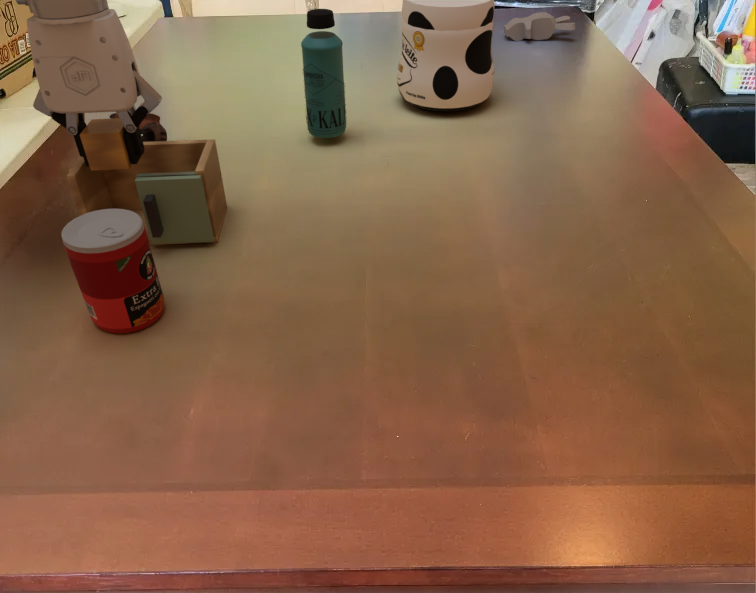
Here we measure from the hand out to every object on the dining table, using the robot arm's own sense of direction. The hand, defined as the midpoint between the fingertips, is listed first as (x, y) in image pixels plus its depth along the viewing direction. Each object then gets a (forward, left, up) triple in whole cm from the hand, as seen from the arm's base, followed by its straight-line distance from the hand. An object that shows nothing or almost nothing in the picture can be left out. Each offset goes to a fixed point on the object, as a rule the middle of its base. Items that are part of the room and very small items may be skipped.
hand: (114, 159), depth 80 cm
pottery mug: (-4, +22, -10) cm, 25 cm away
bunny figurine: (+72, +78, -10) cm, 107 cm away
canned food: (+4, -18, -10) cm, 21 cm away
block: (0, 0, 0) cm, 0 cm away
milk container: (+46, +41, -10) cm, 63 cm away
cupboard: (+3, 0, -10) cm, 11 cm away
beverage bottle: (+25, +26, -10) cm, 38 cm away
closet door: (+7, -6, -9) cm, 13 cm away
